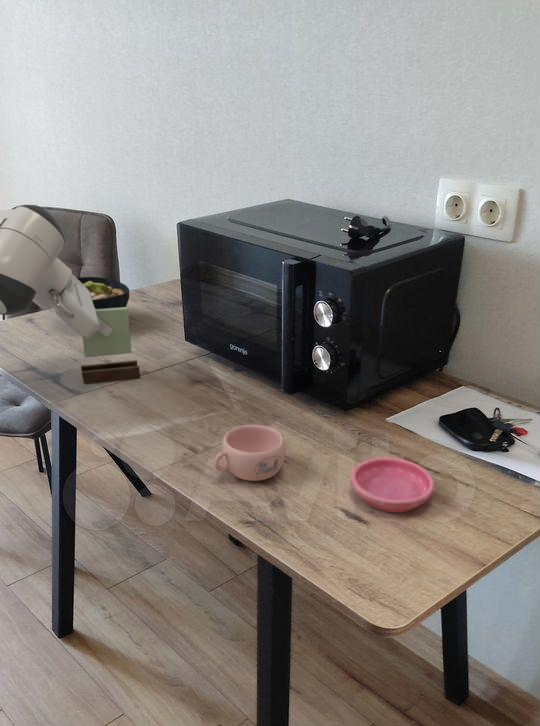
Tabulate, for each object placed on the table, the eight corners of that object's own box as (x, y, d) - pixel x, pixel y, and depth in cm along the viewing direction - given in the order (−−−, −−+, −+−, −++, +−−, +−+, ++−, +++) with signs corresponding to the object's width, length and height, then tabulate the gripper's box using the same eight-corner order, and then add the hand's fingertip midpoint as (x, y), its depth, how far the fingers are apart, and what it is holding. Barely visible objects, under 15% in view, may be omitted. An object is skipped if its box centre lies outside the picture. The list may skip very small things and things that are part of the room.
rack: (83, 384, 137) (82, 372, 136) (82, 376, 140) (80, 365, 139) (140, 378, 140) (139, 367, 139) (137, 371, 143) (136, 360, 141)
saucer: (449, 505, 105) (452, 487, 103) (382, 528, 99) (385, 510, 98) (397, 466, 114) (399, 449, 112) (333, 485, 108) (334, 468, 107)
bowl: (74, 344, 154) (68, 299, 148) (45, 321, 165) (39, 279, 160) (144, 329, 162) (141, 287, 157) (112, 308, 174) (108, 268, 168)
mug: (263, 449, 117) (264, 418, 114) (297, 477, 110) (298, 444, 107) (199, 468, 112) (198, 435, 109) (230, 498, 105) (230, 464, 102)
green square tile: (84, 357, 136) (79, 312, 131) (84, 355, 137) (78, 310, 132) (131, 353, 138) (128, 308, 133) (130, 350, 139) (127, 306, 134)
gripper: (64, 287, 118) (127, 337, 126) (56, 254, 134) (113, 301, 142) (40, 315, 119) (104, 363, 127) (35, 279, 136) (92, 323, 144)
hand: (108, 330), depth 135 cm, fingers closed on green square tile, 1 cm apart
